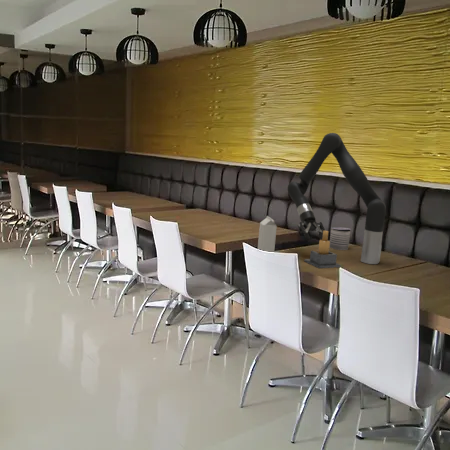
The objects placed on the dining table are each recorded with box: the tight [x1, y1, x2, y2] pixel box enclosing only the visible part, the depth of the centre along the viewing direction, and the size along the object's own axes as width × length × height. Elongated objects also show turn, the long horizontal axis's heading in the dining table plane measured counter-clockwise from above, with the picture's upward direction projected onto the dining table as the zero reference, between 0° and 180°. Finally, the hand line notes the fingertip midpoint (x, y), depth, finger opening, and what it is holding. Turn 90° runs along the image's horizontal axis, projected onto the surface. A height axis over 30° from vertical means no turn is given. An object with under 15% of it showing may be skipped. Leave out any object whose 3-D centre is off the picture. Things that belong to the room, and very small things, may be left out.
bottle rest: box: [304, 250, 342, 269], centre depth 266 cm, size 13×13×6 cm
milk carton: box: [257, 215, 277, 253], centre depth 283 cm, size 7×7×19 cm
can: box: [329, 227, 351, 251], centre depth 308 cm, size 11×11×12 cm
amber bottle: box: [317, 229, 330, 254], centre depth 265 cm, size 5×5×16 cm
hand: (315, 240), depth 271 cm, fingers open, 8 cm apart
